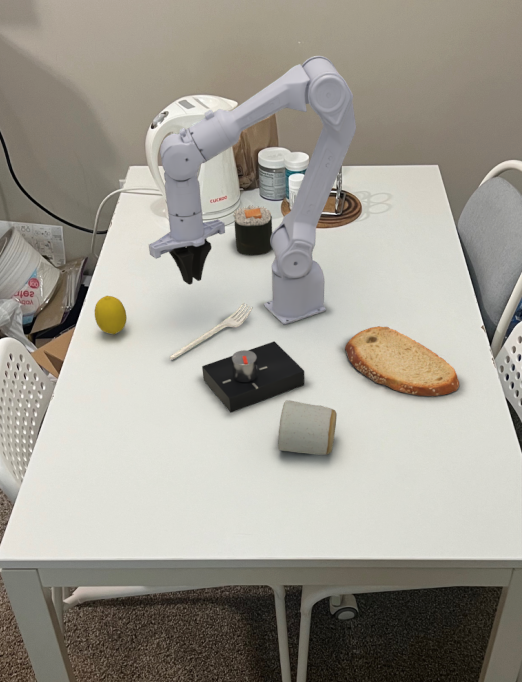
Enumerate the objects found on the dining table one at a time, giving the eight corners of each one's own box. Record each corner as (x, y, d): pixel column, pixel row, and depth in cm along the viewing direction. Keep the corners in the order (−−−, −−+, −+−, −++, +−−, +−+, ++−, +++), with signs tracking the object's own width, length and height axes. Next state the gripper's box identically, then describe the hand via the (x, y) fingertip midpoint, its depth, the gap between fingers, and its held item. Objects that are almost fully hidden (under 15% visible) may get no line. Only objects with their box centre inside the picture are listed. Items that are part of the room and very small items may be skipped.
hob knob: (231, 369, 124) (230, 350, 121) (255, 366, 125) (254, 347, 122) (235, 384, 121) (233, 364, 118) (259, 380, 122) (258, 361, 119)
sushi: (270, 235, 165) (269, 201, 160) (274, 254, 159) (273, 219, 154) (233, 238, 165) (231, 204, 159) (236, 257, 159) (234, 222, 153)
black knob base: (274, 354, 132) (274, 340, 130) (304, 385, 126) (304, 370, 124) (203, 380, 127) (201, 365, 125) (230, 413, 120) (229, 398, 118)
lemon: (123, 344, 135) (115, 306, 130) (94, 340, 136) (85, 302, 130) (133, 327, 139) (127, 289, 134) (105, 324, 140) (98, 286, 134)
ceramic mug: (331, 466, 111) (333, 426, 106) (277, 460, 112) (276, 421, 107) (338, 420, 119) (340, 382, 114) (287, 416, 120) (287, 377, 115)
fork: (164, 357, 132) (163, 348, 130) (242, 310, 143) (241, 301, 142) (177, 364, 130) (176, 356, 129) (254, 316, 141) (254, 307, 140)
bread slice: (463, 395, 123) (466, 377, 121) (355, 400, 122) (356, 382, 120) (439, 334, 137) (442, 316, 134) (342, 338, 136) (343, 321, 133)
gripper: (161, 230, 120) (170, 303, 129) (233, 205, 127) (237, 275, 136) (138, 215, 124) (148, 287, 133) (209, 191, 131) (215, 260, 140)
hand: (192, 280), depth 135 cm, fingers closed
